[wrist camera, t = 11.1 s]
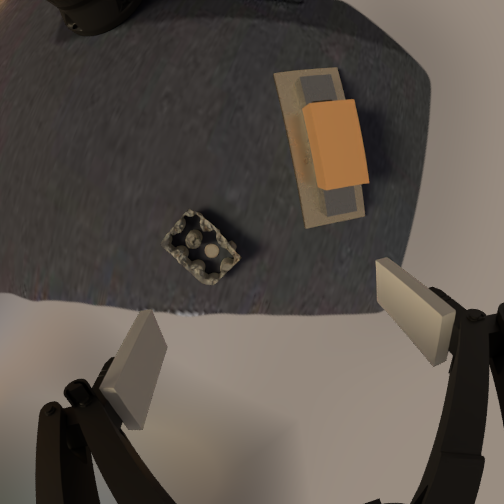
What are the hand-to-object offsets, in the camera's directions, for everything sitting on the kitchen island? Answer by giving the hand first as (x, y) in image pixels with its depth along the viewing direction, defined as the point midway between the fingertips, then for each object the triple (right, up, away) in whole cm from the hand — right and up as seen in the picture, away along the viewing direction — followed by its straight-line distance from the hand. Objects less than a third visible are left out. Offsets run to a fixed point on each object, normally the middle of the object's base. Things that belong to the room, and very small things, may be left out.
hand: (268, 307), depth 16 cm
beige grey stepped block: (+10, +19, +25) cm, 33 cm away
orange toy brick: (+10, +18, +23) cm, 31 cm away
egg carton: (-8, +4, +29) cm, 30 cm away
